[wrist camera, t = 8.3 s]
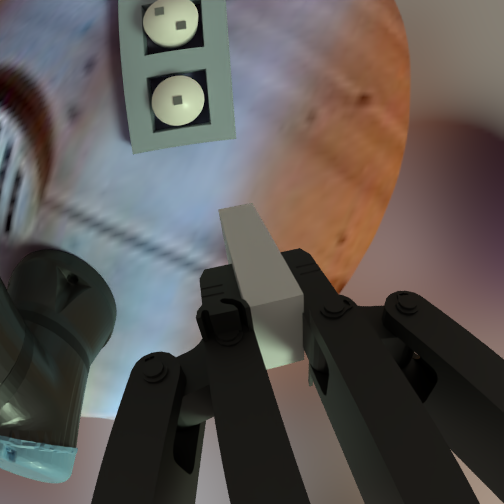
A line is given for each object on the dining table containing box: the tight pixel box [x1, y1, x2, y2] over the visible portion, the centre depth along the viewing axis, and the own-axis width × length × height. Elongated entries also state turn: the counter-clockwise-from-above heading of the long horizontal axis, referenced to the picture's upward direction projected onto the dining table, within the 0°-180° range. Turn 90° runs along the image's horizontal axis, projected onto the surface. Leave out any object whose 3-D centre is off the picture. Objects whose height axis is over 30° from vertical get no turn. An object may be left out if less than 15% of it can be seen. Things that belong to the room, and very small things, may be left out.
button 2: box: [143, 0, 198, 48], centre depth 18 cm, size 4×4×3 cm
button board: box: [118, 0, 236, 154], centre depth 19 cm, size 9×22×2 cm, turn 3°
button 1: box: [152, 76, 204, 126], centre depth 22 cm, size 4×4×3 cm
